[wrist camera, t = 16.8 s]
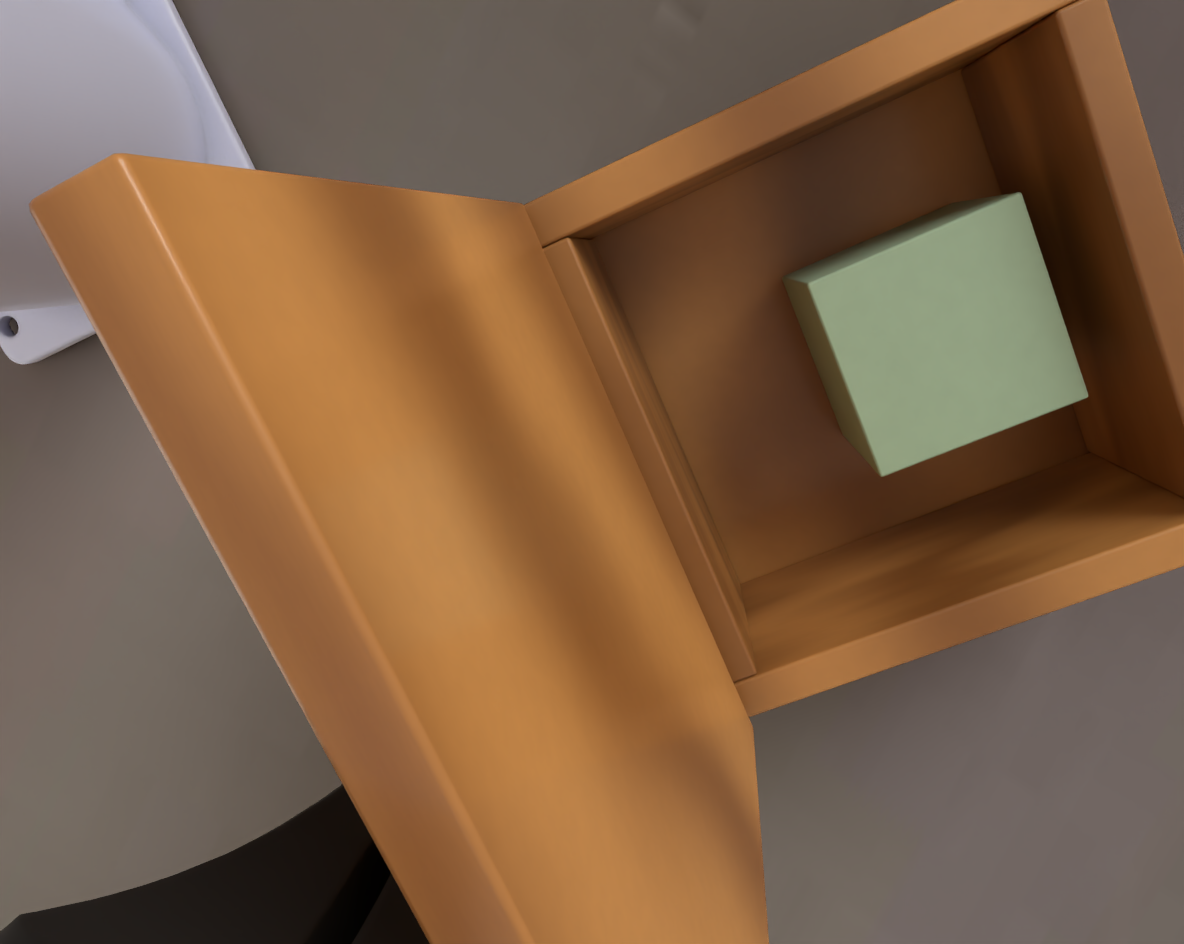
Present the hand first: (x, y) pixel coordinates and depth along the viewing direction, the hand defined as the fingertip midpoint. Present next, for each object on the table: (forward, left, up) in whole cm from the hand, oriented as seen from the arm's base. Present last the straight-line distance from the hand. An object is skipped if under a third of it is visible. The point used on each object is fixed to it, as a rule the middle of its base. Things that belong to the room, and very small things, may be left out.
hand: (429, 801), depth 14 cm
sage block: (-3, +11, -9) cm, 14 cm away
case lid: (-3, +4, +2) cm, 5 cm away
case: (-3, +9, -10) cm, 14 cm away
